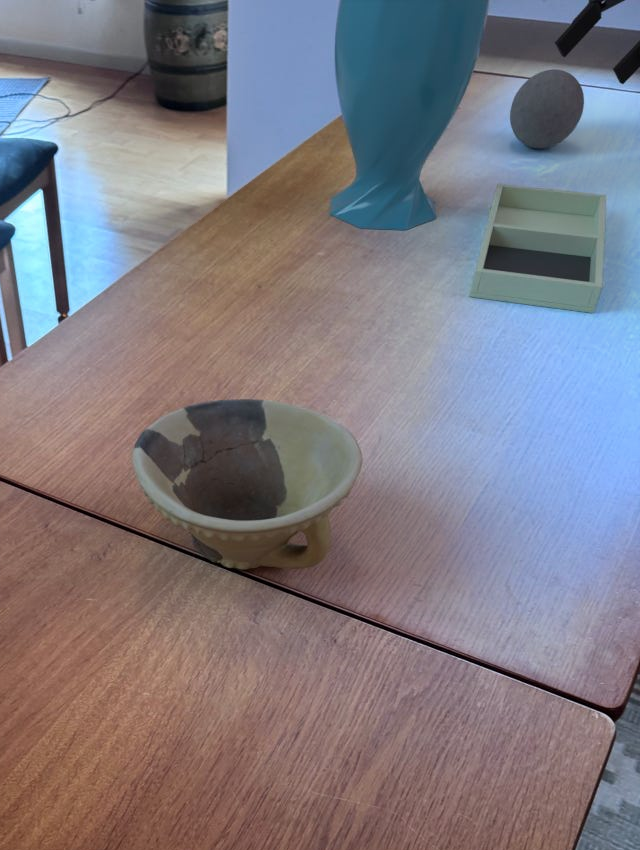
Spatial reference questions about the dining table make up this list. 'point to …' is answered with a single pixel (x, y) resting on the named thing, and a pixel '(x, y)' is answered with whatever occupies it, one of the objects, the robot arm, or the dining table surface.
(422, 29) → the vase
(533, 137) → the decorative ball
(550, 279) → the organizer
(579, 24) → the robot arm
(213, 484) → the bowl
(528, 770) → the dining table surface
